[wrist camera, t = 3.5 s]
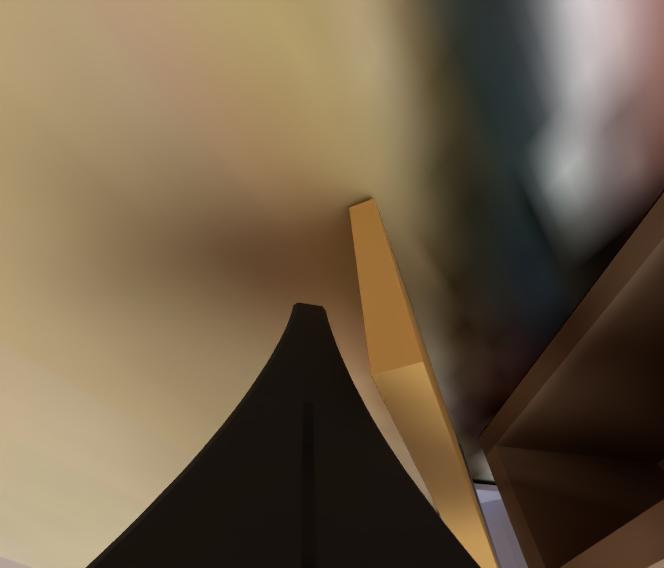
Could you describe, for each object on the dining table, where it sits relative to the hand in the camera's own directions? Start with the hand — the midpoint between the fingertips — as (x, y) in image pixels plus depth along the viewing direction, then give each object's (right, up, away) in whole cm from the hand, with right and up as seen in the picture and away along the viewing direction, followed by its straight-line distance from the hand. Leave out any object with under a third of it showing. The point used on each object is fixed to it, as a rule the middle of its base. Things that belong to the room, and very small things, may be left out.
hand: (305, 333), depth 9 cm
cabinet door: (+4, -2, +5) cm, 7 cm away
